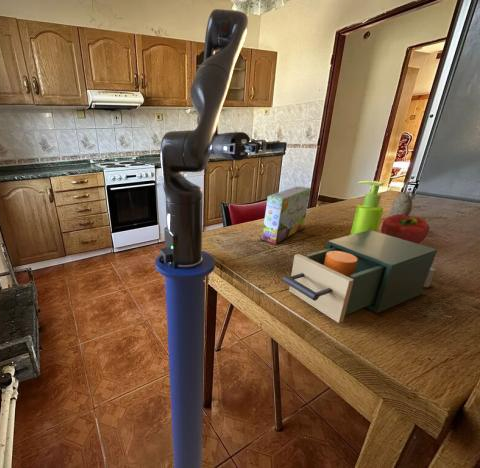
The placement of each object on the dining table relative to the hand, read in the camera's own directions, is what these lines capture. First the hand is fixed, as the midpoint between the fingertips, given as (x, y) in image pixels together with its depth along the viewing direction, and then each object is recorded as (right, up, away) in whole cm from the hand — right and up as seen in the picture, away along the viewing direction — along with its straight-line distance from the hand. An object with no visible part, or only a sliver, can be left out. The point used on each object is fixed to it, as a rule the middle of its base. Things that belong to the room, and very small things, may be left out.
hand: (271, 147), depth 61 cm
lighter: (+33, -31, 0) cm, 46 cm away
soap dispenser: (+31, -25, +15) cm, 43 cm away
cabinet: (+20, -33, -3) cm, 39 cm away
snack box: (+16, -21, +29) cm, 39 cm away
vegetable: (+45, -24, +16) cm, 54 cm away
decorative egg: (+65, -15, +39) cm, 77 cm away
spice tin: (+9, -33, -8) cm, 35 cm away
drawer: (+8, -34, -8) cm, 36 cm away
